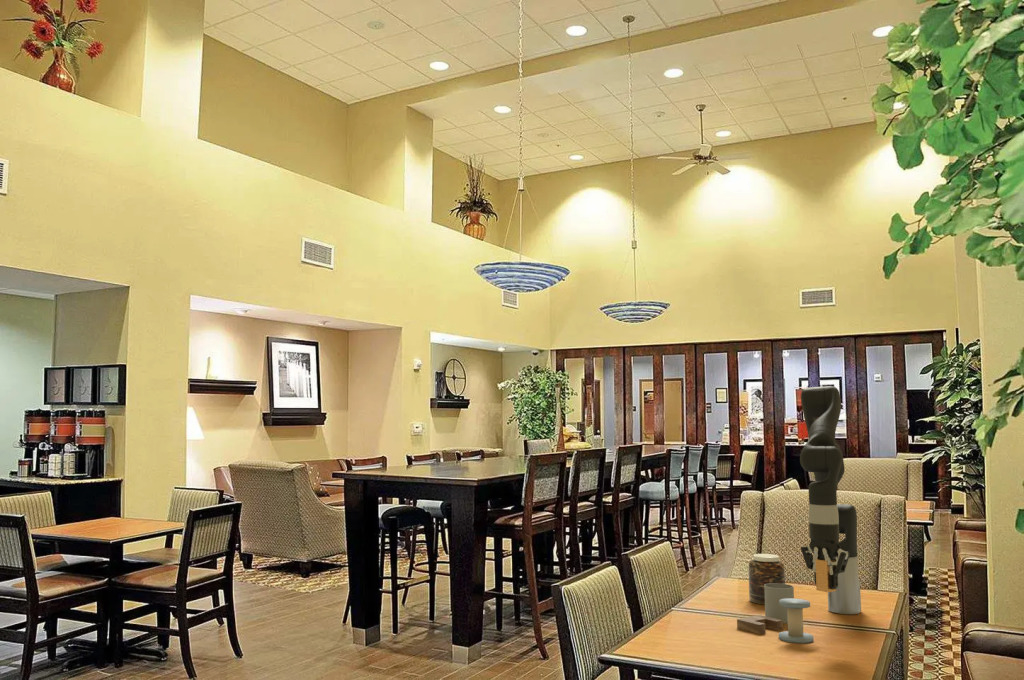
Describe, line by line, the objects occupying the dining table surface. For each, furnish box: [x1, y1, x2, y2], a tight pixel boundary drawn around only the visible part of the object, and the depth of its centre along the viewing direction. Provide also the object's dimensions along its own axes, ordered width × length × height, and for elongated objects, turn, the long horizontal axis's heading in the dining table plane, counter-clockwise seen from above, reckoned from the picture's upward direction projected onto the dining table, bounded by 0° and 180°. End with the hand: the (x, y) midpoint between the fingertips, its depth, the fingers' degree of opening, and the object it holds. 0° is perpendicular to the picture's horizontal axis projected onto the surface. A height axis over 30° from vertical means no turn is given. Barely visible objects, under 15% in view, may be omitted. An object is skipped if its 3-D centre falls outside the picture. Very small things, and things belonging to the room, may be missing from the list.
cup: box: [764, 583, 795, 624], centre depth 246 cm, size 8×8×10 cm
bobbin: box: [778, 597, 814, 644], centre depth 224 cm, size 9×9×10 cm
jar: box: [748, 553, 786, 606], centre depth 272 cm, size 12×12×15 cm
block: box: [815, 559, 836, 593], centre depth 216 cm, size 4×4×8 cm
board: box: [736, 614, 784, 635], centre depth 235 cm, size 10×8×2 cm
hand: (826, 587), depth 216 cm, fingers closed on block, 3 cm apart
